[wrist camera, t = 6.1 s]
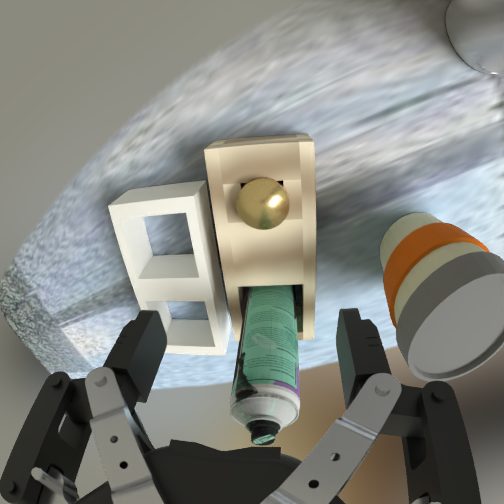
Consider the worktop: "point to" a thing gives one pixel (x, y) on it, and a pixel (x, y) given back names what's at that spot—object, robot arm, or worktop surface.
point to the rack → (175, 264)
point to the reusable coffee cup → (442, 296)
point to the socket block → (272, 240)
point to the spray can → (267, 363)
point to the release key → (263, 203)
